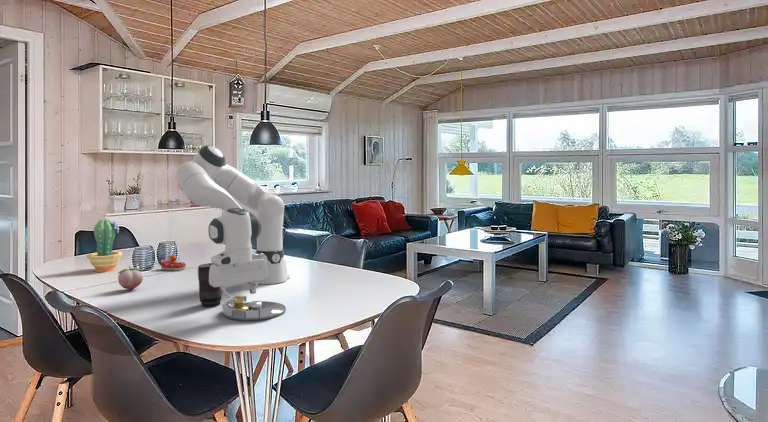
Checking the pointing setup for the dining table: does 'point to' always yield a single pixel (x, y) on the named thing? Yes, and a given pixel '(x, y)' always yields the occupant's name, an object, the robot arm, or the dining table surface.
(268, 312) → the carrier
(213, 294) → the camera lens
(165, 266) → the toy boat
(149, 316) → the dining table surface
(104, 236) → the potted cactus
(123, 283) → the decorative fruit
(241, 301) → the planet gear
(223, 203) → the robot arm
